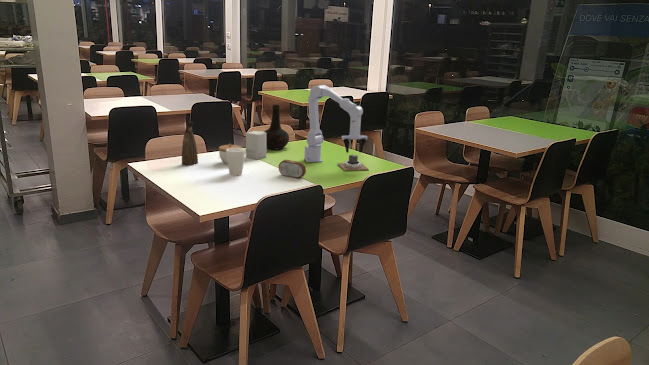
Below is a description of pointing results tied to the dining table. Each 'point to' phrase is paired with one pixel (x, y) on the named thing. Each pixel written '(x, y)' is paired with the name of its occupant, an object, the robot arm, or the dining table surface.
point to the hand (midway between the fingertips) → (353, 152)
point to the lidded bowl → (223, 152)
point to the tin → (292, 169)
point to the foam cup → (235, 160)
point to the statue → (189, 147)
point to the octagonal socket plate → (352, 166)
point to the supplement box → (256, 144)
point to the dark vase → (276, 131)
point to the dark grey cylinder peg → (353, 159)
